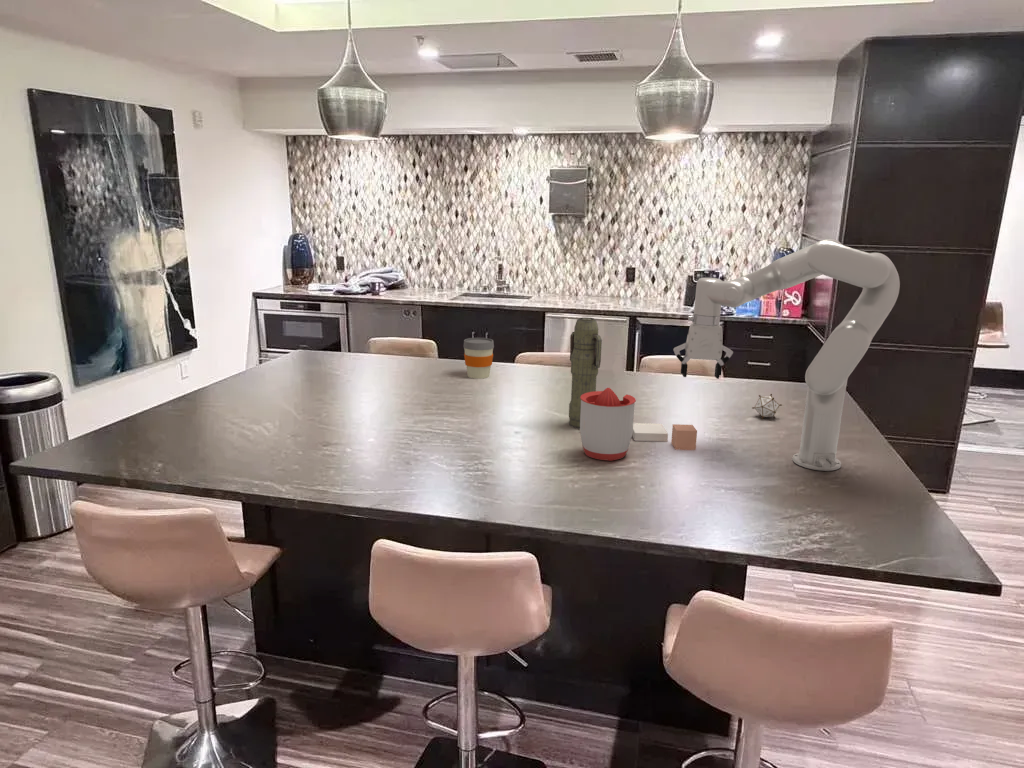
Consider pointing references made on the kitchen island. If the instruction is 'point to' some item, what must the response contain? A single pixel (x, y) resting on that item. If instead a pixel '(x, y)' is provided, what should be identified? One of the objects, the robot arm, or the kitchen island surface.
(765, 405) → the game die
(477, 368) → the reusable coffee cup
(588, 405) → the citrus juicer
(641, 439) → the block
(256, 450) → the kitchen island surface
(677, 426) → the cube
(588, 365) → the thermos
